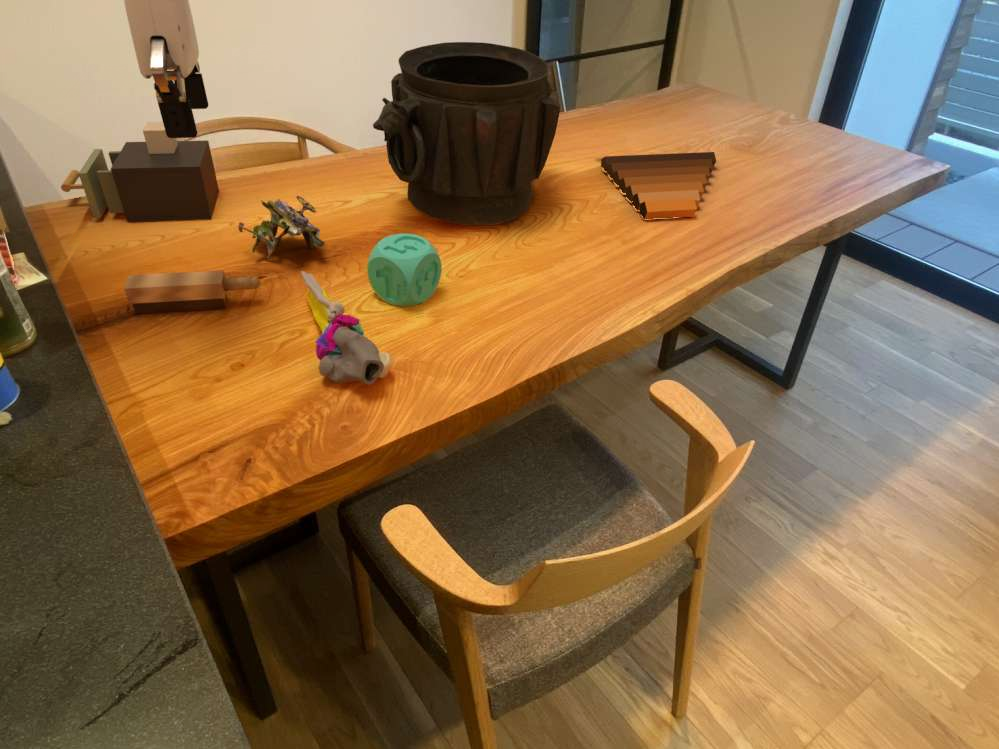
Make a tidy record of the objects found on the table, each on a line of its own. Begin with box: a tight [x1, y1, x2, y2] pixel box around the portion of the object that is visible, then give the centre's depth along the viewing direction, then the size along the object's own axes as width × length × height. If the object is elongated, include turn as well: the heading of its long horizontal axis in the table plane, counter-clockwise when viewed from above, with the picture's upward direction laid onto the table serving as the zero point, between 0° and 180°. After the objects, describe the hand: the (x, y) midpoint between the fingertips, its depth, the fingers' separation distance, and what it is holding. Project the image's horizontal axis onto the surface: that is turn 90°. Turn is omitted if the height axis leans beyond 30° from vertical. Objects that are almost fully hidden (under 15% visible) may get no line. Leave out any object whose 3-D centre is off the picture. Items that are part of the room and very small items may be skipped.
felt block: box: [142, 121, 178, 154], centre depth 117 cm, size 4×4×4 cm
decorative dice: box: [366, 233, 443, 307], centre depth 103 cm, size 8×8×8 cm
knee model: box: [300, 270, 393, 386], centre depth 93 cm, size 9×8×25 cm
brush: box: [123, 269, 261, 315], centre depth 99 cm, size 18×4×4 cm, turn 101°
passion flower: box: [238, 195, 326, 262], centre depth 110 cm, size 11×11×12 cm
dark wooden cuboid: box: [110, 140, 220, 223], centre depth 120 cm, size 14×12×10 cm
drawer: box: [60, 148, 125, 218], centre depth 119 cm, size 17×10×8 cm, turn 101°
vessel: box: [372, 41, 560, 227], centre depth 124 cm, size 31×32×25 cm
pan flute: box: [600, 151, 717, 219], centre depth 139 cm, size 25×3×25 cm
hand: (189, 121), depth 81 cm, fingers open, 9 cm apart
